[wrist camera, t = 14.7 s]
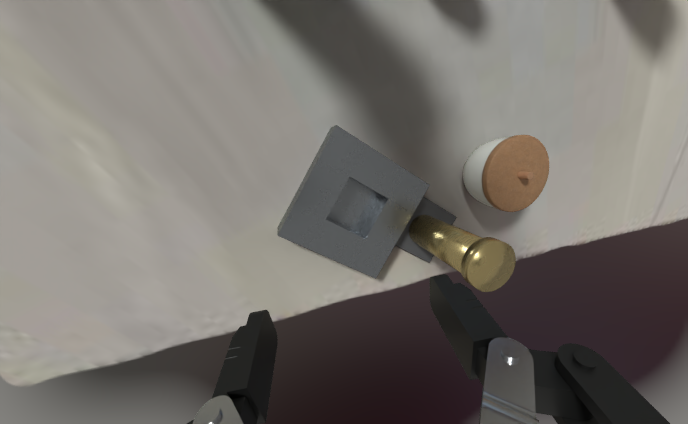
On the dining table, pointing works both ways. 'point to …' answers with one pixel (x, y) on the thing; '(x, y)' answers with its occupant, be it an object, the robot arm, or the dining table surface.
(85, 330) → the dining table surface
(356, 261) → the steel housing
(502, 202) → the lidded jar
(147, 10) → the dining table surface
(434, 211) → the rubber mat
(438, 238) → the brass plug
